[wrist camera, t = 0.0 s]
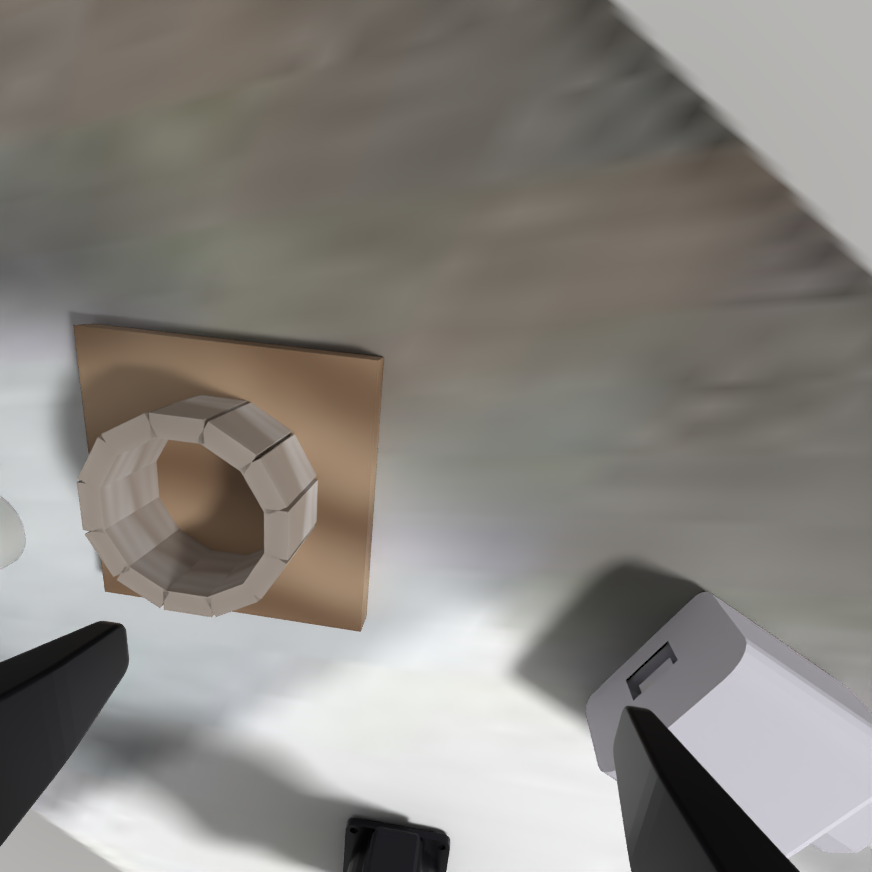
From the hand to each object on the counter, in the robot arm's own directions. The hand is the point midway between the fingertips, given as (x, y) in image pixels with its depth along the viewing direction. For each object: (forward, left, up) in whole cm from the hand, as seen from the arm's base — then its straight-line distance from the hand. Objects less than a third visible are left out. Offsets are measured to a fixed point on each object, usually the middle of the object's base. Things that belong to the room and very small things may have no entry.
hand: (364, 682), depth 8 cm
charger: (-13, -18, -15) cm, 27 cm away
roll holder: (-3, +10, -15) cm, 18 cm away
